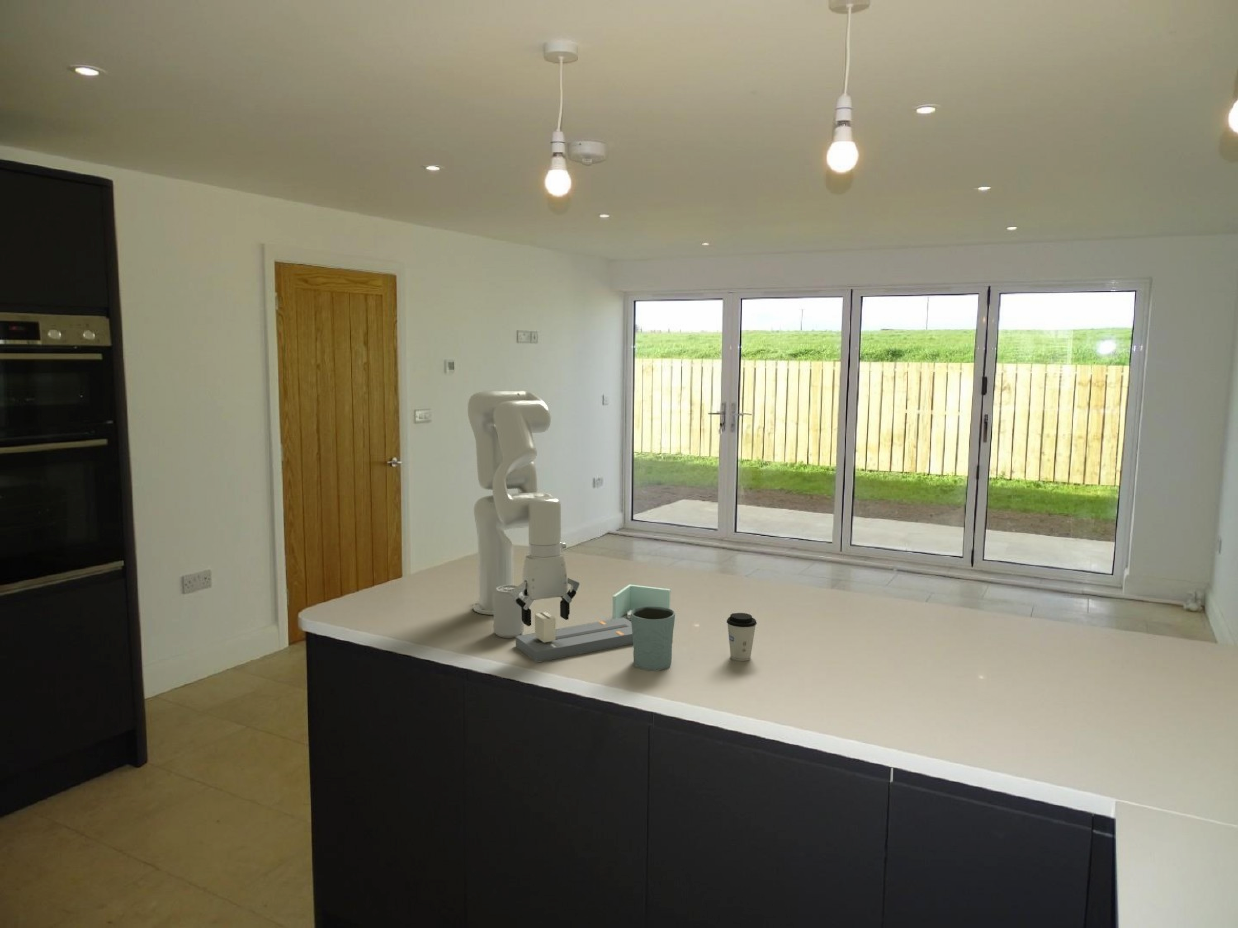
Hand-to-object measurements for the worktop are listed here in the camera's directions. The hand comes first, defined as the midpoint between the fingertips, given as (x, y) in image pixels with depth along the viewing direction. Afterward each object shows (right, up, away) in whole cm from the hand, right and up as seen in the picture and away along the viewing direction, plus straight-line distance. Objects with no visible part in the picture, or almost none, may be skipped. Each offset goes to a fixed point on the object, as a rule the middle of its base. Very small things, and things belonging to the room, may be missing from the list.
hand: (545, 621), depth 194 cm
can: (-10, -6, +13) cm, 18 cm away
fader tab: (0, -4, +1) cm, 4 cm away
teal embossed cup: (+25, -9, -6) cm, 27 cm away
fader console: (+8, -7, +6) cm, 12 cm away
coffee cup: (+46, -8, -2) cm, 46 cm away
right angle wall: (+23, -5, +27) cm, 36 cm away
